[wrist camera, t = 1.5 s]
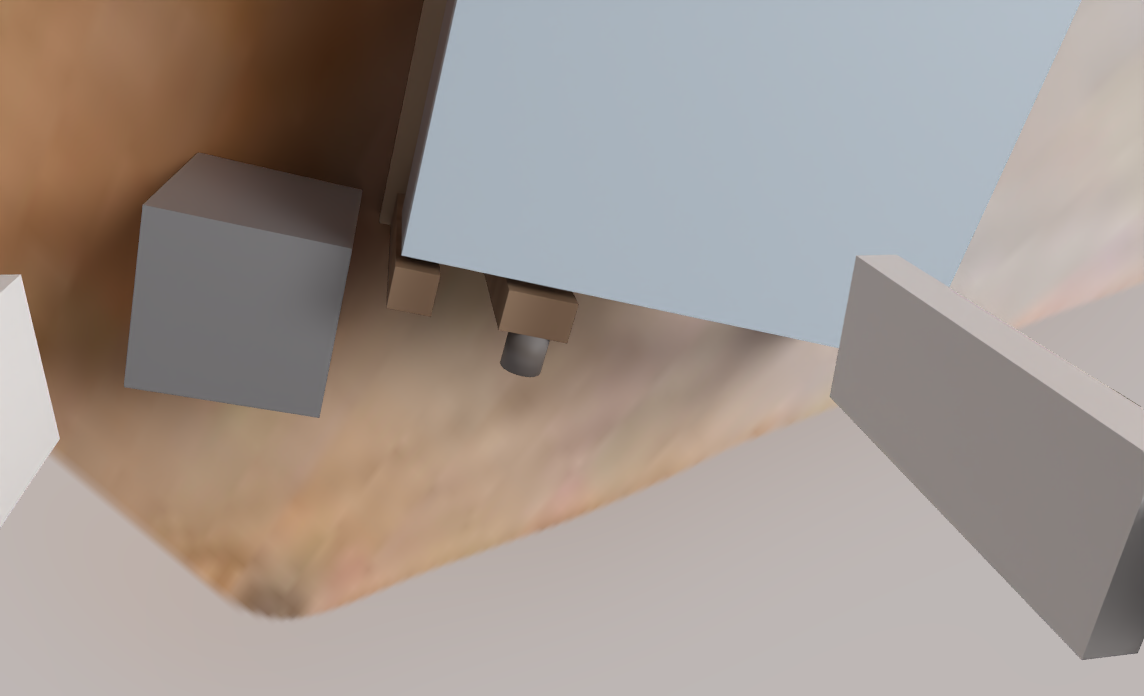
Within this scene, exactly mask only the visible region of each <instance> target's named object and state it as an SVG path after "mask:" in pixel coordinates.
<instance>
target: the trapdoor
mask: <svg viewBox="0 0 1144 696" xmlns="http://www.w3.org/2000/svg"><path fill="white" fill-rule="evenodd" d="M1080 2H1081V0H447V3H446V7H445V12H444V17H443V21H442V26H441V31H440V35H439V40H438V45H437V49H436V54H435V59H434V64H433V68H432V73H431V78H430V82H429V87H428V92H427V96H426V101H425V106H424V110H423V115H422V120H421V124H420V129H419V134H418V138H417V143H416V148H415V152H414V157H413V162H412V166H411V171H410V176H409V181H408V185H407V190H406V195H405V199H404V204H403V209H402V256H407V257H411V258H416V259H421V260H426V261H430V262H435V263H440V264H444V265H449V266H454V267H459V268H463V269H468V270H473V271H477V272H482V273H487V274H492V275H496V276H501V277H506V278H510V279H515V280H520V281H525V282H529V283H534V284H539V285H544V286H548V287H553V288H558V289H562V290H567V291H572V292H577V293H581V294H586V295H591V296H595V297H600V298H605V299H610V300H614V301H619V302H624V303H628V304H633V305H638V306H643V307H647V308H652V309H657V310H661V311H666V312H671V313H676V314H680V315H685V316H690V317H695V318H699V319H704V320H709V321H713V322H718V323H723V324H728V325H732V326H737V327H742V328H746V329H751V330H756V331H761V332H765V333H770V334H775V335H779V336H784V337H789V338H794V339H798V340H803V341H808V342H813V343H817V344H822V345H827V346H831V347H836V348H839V345H840V339H841V334H842V329H843V323H844V318H845V313H846V307H847V302H848V296H849V291H850V286H851V280H852V275H853V270H854V264H855V259H856V256H857V255H898V256H900V257H901V258H903V259H905V260H906V261H908V262H909V263H911V264H913V265H914V266H916V267H917V268H919V269H921V270H922V271H924V272H925V273H927V274H929V275H930V276H932V277H933V278H935V279H937V280H938V281H940V282H941V283H943V284H945V285H946V286H948V287H950V285H951V282H952V280H953V278H954V276H955V274H956V272H957V269H958V267H959V265H960V263H961V261H962V258H963V256H964V254H965V252H966V250H967V248H968V245H969V243H970V241H971V239H972V237H973V235H974V232H975V230H976V228H977V226H978V224H979V222H980V219H981V217H982V215H983V213H984V211H985V209H986V206H987V204H988V202H989V200H990V198H991V195H992V193H993V191H994V189H995V187H996V185H997V182H998V180H999V178H1000V176H1001V174H1002V172H1003V169H1004V167H1005V165H1006V163H1007V161H1008V159H1009V156H1010V154H1011V152H1012V150H1013V148H1014V145H1015V143H1016V141H1017V139H1018V137H1019V135H1020V132H1021V130H1022V128H1023V126H1024V124H1025V122H1026V119H1027V117H1028V115H1029V113H1030V111H1031V109H1032V106H1033V104H1034V102H1035V100H1036V98H1037V96H1038V93H1039V91H1040V89H1041V87H1042V85H1043V82H1044V80H1045V78H1046V76H1047V74H1048V72H1049V69H1050V67H1051V65H1052V63H1053V61H1054V59H1055V56H1056V54H1057V52H1058V50H1059V48H1060V46H1061V43H1062V41H1063V39H1064V37H1065V35H1066V33H1067V30H1068V28H1069V26H1070V24H1071V22H1072V19H1073V17H1074V15H1075V13H1076V11H1077V9H1078V6H1079V4H1080Z"/></svg>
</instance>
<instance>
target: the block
mask: <svg viewBox="0 0 1144 696" xmlns="http://www.w3.org/2000/svg"><path fill="white" fill-rule="evenodd" d="M362 191H363V190H361V189H356V188H352V187H347V186H343V185H339V184H334V183H330V182H326V181H321V180H317V179H313V178H308V177H304V176H299V175H295V174H291V173H286V172H282V171H278V170H273V169H269V168H265V167H260V166H256V165H251V164H247V163H243V162H238V161H234V160H230V159H225V158H221V157H216V156H212V155H208V154H203V153H199V152H198V153H197V154H196V155H195V156H194V157H193V158H192V159H191V160H189V161H188V162H187V163H186V164H185V165H184V166H183V167H182V168H181V169H180V170H179V171H178V172H177V173H176V174H175V175H174V176H173V177H172V178H170V179H169V180H168V181H167V182H166V183H165V184H164V185H163V186H162V187H161V188H160V189H159V190H158V191H157V192H156V193H155V194H154V195H152V196H151V197H150V198H149V199H148V200H147V201H146V202H145V203H144V204H143V207H142V216H141V226H140V236H139V245H138V255H137V265H136V274H135V284H134V294H133V303H132V313H131V322H130V332H129V342H128V351H127V361H126V371H125V380H124V387H127V388H133V389H139V390H146V391H152V392H158V393H165V394H171V395H178V396H184V397H190V398H197V399H203V400H209V401H216V402H222V403H228V404H235V405H241V406H247V407H254V408H260V409H266V410H273V411H279V412H285V413H292V414H298V415H304V416H311V417H317V418H319V417H320V412H321V407H322V402H323V397H324V391H325V386H326V381H327V376H328V371H329V366H330V361H331V356H332V351H333V345H334V340H335V335H336V330H337V325H338V320H339V315H340V310H341V305H342V299H343V294H344V289H345V284H346V279H347V274H348V269H349V264H350V259H351V253H352V248H353V242H354V237H355V231H356V225H357V220H358V214H359V208H360V202H361V197H362Z"/></svg>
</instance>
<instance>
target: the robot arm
mask: <svg viewBox="0 0 1144 696" xmlns="http://www.w3.org/2000/svg"><path fill="white" fill-rule="evenodd" d="M830 397H831V399H832V400H833V401H834V402H835V403H836V404H837V405H838V406H839V407H840V408H841V409H842V410H843V411H844V412H845V413H846V414H847V415H848V416H849V417H850V418H851V419H852V420H853V421H854V423H856V425H857V426H858V427H859V428H860V429H861V430H862V431H863V432H864V433H865V434H866V435H867V436H868V437H869V438H870V439H871V440H872V441H873V442H874V443H875V444H876V445H877V447H878V448H879V449H880V450H881V451H882V452H883V453H884V454H885V455H886V456H887V457H888V458H889V459H890V460H891V461H892V462H893V463H894V464H895V465H896V466H897V467H898V469H899V470H900V471H901V472H902V473H903V474H904V475H905V476H906V477H907V478H908V479H909V480H910V481H911V482H912V483H913V484H914V485H915V486H916V487H917V488H918V489H919V490H920V492H921V493H922V494H923V495H924V496H925V497H927V499H928V500H929V501H930V502H931V503H932V504H933V505H934V506H935V507H936V508H937V509H938V510H939V511H940V512H941V513H942V514H943V515H944V517H945V518H946V519H947V520H948V521H949V522H950V523H951V524H952V525H953V526H954V527H955V528H956V529H957V530H958V531H959V532H960V533H961V534H962V535H963V536H964V537H965V539H966V540H967V541H969V543H970V544H971V545H972V546H973V547H974V548H975V549H976V550H977V551H978V552H979V553H980V554H981V555H982V556H983V557H984V558H985V559H986V560H987V561H988V563H989V564H990V565H991V566H992V567H993V568H994V569H995V570H996V571H997V572H998V573H999V574H1000V575H1001V576H1002V577H1003V578H1004V579H1005V580H1006V581H1007V582H1008V583H1009V585H1011V587H1012V588H1013V589H1014V590H1015V591H1016V592H1017V593H1018V594H1019V595H1020V596H1021V597H1022V598H1023V599H1024V600H1025V601H1026V602H1027V603H1028V604H1029V605H1030V606H1031V607H1032V609H1033V610H1034V611H1035V612H1036V613H1037V614H1038V615H1039V616H1040V617H1041V618H1042V619H1043V620H1044V621H1045V622H1046V623H1047V624H1048V625H1049V626H1050V627H1051V628H1052V629H1053V630H1054V632H1055V633H1056V634H1058V636H1059V637H1061V639H1062V640H1063V641H1064V642H1065V643H1066V644H1067V645H1068V646H1069V647H1070V648H1071V649H1072V650H1073V651H1074V652H1075V653H1076V655H1077V656H1079V658H1080V659H1081V660H1086V659H1094V658H1102V657H1110V656H1118V655H1127V654H1135V653H1138V651H1139V649H1140V646H1141V644H1142V642H1143V639H1144V409H1143V408H1142V407H1141V406H1139V405H1137V404H1136V403H1134V402H1133V401H1131V400H1129V399H1128V398H1126V397H1125V396H1123V395H1122V394H1120V393H1118V392H1117V391H1115V390H1114V389H1112V388H1110V387H1108V386H1106V385H1105V384H1103V383H1102V382H1100V381H1098V380H1097V379H1095V378H1093V377H1092V376H1090V375H1089V374H1087V373H1085V372H1084V371H1082V370H1081V369H1079V368H1077V367H1076V366H1074V365H1073V364H1071V363H1069V362H1068V361H1066V360H1065V359H1063V358H1061V357H1060V356H1058V355H1057V354H1055V353H1054V352H1052V351H1050V350H1049V349H1047V348H1046V347H1044V346H1042V345H1040V344H1039V343H1037V342H1036V341H1034V340H1033V339H1031V338H1029V337H1028V336H1026V335H1025V334H1023V333H1021V332H1020V331H1018V330H1017V329H1015V328H1013V327H1012V326H1010V325H1009V324H1007V323H1005V322H1004V321H1002V320H1001V319H999V318H997V317H996V316H994V315H993V314H991V313H989V312H988V311H986V310H985V309H983V308H981V307H980V306H978V305H977V304H975V303H973V302H972V301H970V300H969V299H967V298H965V297H964V296H962V295H961V294H959V293H957V292H956V291H954V290H953V289H951V288H949V287H948V286H946V285H945V284H943V283H941V282H940V281H938V280H937V279H935V278H933V277H932V276H930V275H929V274H927V273H925V272H924V271H922V270H921V269H919V268H917V267H916V266H914V265H913V264H911V263H909V262H908V261H906V260H905V259H903V258H901V257H900V256H898V255H857V256H856V259H855V264H854V270H853V275H852V280H851V286H850V291H849V296H848V302H847V307H846V313H845V318H844V323H843V329H842V334H841V339H840V345H839V350H838V356H837V361H836V366H835V372H834V377H833V382H832V388H831V393H830ZM59 439H60V437H59V433H58V429H57V425H56V420H55V416H54V412H53V408H52V404H51V399H50V395H49V391H48V387H47V383H46V378H45V374H44V370H43V366H42V362H41V357H40V353H39V349H38V345H37V341H36V336H35V332H34V328H33V324H32V319H31V315H30V311H29V307H28V303H27V298H26V294H25V290H24V286H23V282H22V277H21V274H15V275H0V528H1V526H2V525H3V523H4V522H5V520H6V519H7V517H8V516H9V514H10V512H11V511H12V510H13V508H14V507H15V505H16V504H17V502H18V501H19V499H20V498H21V496H22V495H23V493H24V492H25V490H26V489H27V487H28V486H29V484H30V483H31V481H32V480H33V478H34V477H35V475H36V474H37V472H38V471H39V469H40V468H41V466H42V465H43V463H44V462H45V460H46V459H47V457H48V456H49V454H50V453H51V451H52V450H53V448H54V447H55V445H56V444H57V442H58V441H59Z"/></svg>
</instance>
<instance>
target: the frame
mask: <svg viewBox="0 0 1144 696" xmlns="http://www.w3.org/2000/svg"><path fill="white" fill-rule="evenodd" d="M446 3H447V0H424V1H423V6H422V11H421V16H420V21H419V26H418V31H417V36H416V41H415V45H414V50H413V55H412V60H411V65H410V70H409V75H408V80H407V85H406V89H405V94H404V99H403V104H402V109H401V114H400V119H399V124H398V129H397V133H396V138H395V143H394V148H393V153H392V158H391V163H390V168H389V173H388V177H387V182H386V187H385V192H384V197H383V202H382V207H381V212H380V218H379V223H382V224H387V225H391V226H390V246H389V266H388V286H387V306H386V308H388V309H394V310H399V311H404V312H409V313H414V314H419V315H424V316H429V317H431V314H432V310H433V305H434V301H435V297H436V293H437V288H438V284H439V280H440V267H439V263H435V262H430V261H426V260H421V259H416V258H411V257H407V256H402V209H403V204H404V199H405V195H406V190H407V185H408V181H409V176H410V171H411V166H412V162H413V157H414V152H415V148H416V143H417V138H418V134H419V129H420V124H421V120H422V115H423V110H424V106H425V101H426V96H427V92H428V87H429V82H430V78H431V73H432V68H433V64H434V59H435V54H436V49H437V45H438V40H439V35H440V31H441V26H442V21H443V17H444V12H445V7H446ZM484 274H485V278H486V282H487V286H488V290H489V294H490V298H491V302H492V306H493V310H494V314H495V318H496V322H497V325H498V329H499V330H501V331H506V332H508V336H507V339H506V343H505V347H504V350H503V354H502V358H501V361H500V364H501V366H502V367H503V368H504V369H506V370H507V371H509V372H511V373H513V374H516V375H520V376H525V377H535V376H538V375H539V374H540V372H541V368H542V365H543V362H544V358H545V355H546V351H547V348H548V345H549V341H550V340H553V341H558V342H563V343H567V342H568V339H569V335H570V332H571V329H572V325H573V322H574V319H575V315H576V312H577V309H578V305H579V304H578V302H577V300H576V298H575V296H574V294H573V292H572V291H567V290H562V289H558V288H553V287H548V286H544V285H539V284H534V283H529V282H525V281H520V280H515V279H510V278H506V277H501V276H496V275H492V274H487V273H484Z"/></svg>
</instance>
